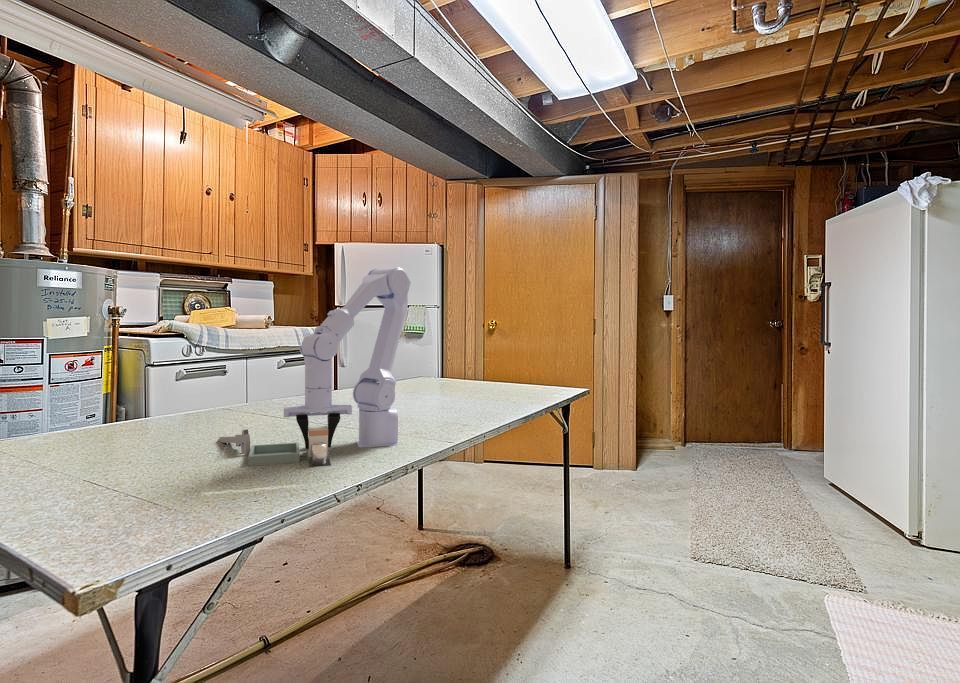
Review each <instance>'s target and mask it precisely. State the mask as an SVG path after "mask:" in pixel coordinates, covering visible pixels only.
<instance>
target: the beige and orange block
mask: <svg viewBox="0 0 960 683" xmlns="http://www.w3.org/2000/svg"><path fill="white" fill-rule="evenodd" d="M308 439H309V449H308V453H309V457H311V449H312V444H314V443H327V456H328V455H329V448H328V425H319V426H318V425H316V426H315V425H313V426H308ZM308 453H307V454H308Z"/></svg>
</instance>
